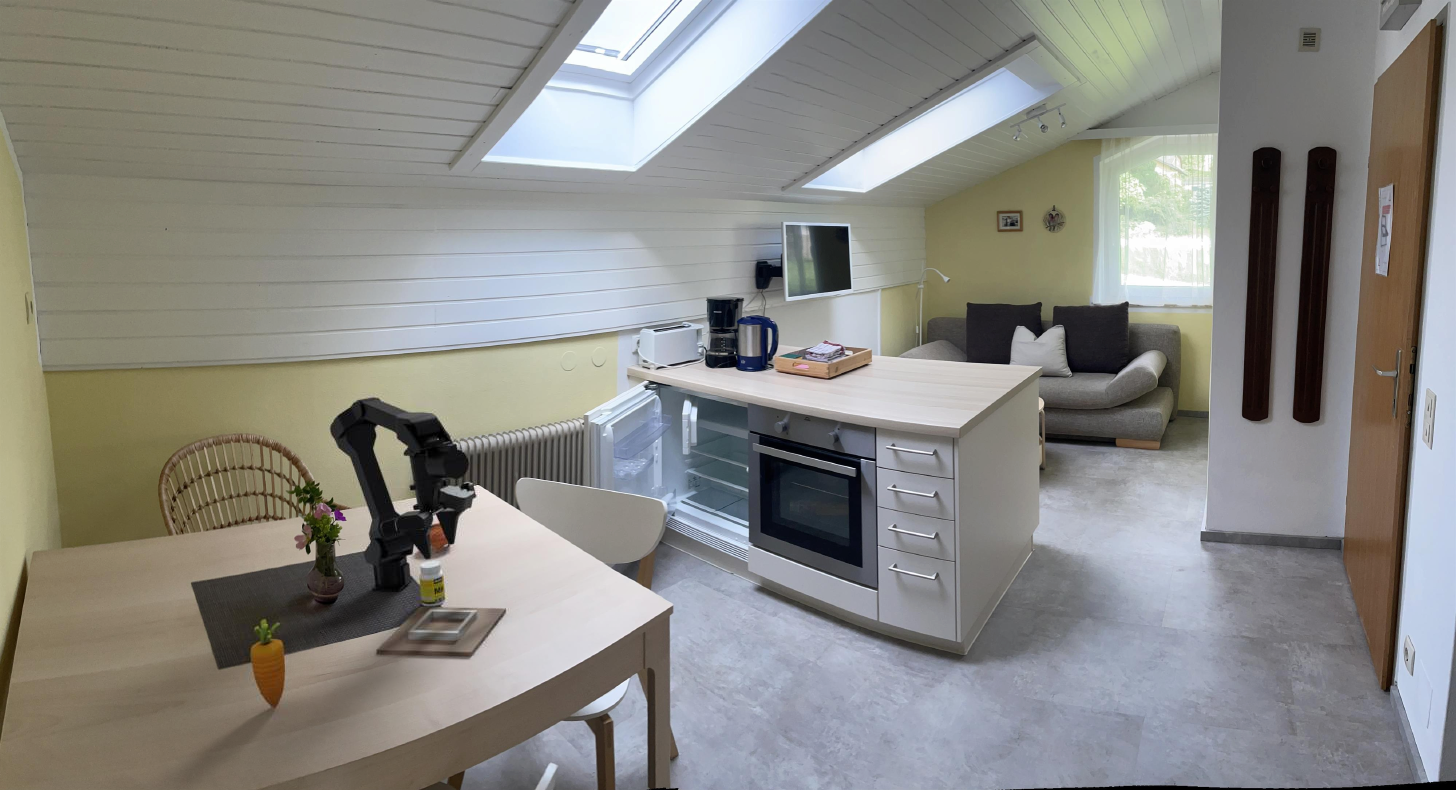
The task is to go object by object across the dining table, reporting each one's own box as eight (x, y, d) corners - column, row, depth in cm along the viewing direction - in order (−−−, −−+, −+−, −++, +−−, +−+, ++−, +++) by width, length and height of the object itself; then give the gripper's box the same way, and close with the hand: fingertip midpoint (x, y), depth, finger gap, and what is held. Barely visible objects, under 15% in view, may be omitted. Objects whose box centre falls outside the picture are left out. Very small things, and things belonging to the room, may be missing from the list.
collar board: (376, 653, 154) (375, 642, 154) (420, 610, 172) (419, 599, 171) (471, 656, 153) (470, 644, 152) (506, 612, 170) (505, 601, 170)
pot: (413, 552, 203) (414, 524, 203) (433, 548, 210) (434, 521, 211) (442, 554, 200) (443, 526, 201) (461, 550, 208) (462, 523, 208)
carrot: (265, 699, 140) (254, 615, 137) (296, 697, 140) (285, 613, 137) (251, 716, 135) (239, 629, 132) (284, 714, 135) (272, 627, 132)
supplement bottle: (437, 608, 173) (434, 569, 171) (417, 606, 174) (413, 568, 172) (450, 598, 178) (446, 560, 176) (429, 596, 178) (426, 559, 177)
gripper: (440, 485, 159) (452, 564, 161) (486, 463, 177) (497, 535, 179) (387, 489, 161) (400, 567, 163) (438, 467, 179) (449, 538, 181)
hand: (440, 551), depth 171 cm, fingers open, 9 cm apart
